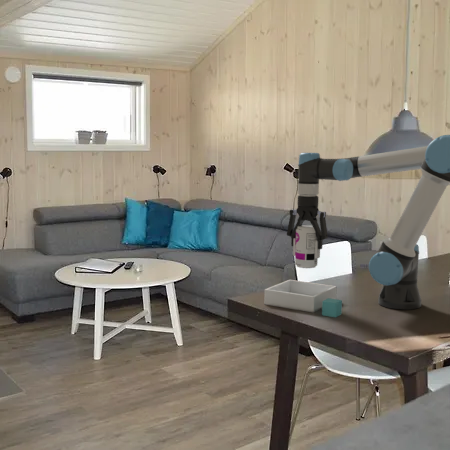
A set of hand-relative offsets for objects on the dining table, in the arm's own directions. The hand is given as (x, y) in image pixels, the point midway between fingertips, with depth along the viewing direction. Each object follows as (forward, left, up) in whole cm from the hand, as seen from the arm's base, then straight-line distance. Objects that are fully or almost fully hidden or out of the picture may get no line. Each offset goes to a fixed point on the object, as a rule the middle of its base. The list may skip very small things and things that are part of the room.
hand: (306, 256), depth 234 cm
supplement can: (0, 0, -4) cm, 4 cm away
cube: (-16, +12, -17) cm, 26 cm away
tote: (0, +4, -17) cm, 17 cm away
